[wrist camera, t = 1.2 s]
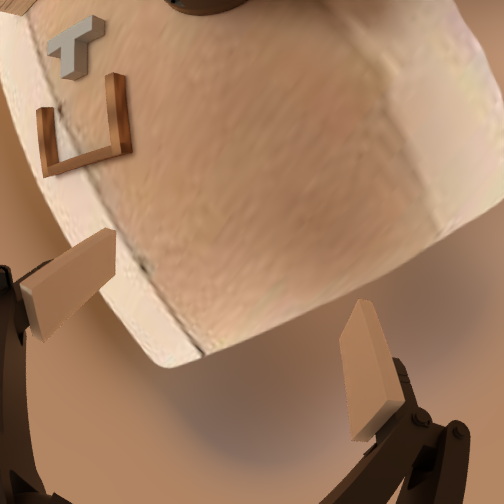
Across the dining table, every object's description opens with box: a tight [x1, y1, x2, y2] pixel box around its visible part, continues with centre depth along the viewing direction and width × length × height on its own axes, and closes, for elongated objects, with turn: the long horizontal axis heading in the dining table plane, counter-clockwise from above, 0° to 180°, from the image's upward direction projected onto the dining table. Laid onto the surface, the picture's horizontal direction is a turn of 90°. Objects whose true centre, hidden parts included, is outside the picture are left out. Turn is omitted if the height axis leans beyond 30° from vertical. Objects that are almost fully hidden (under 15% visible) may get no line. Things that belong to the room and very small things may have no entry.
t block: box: [47, 15, 105, 80], centre depth 31 cm, size 9×10×4 cm
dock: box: [36, 73, 132, 178], centre depth 35 cm, size 12×17×3 cm
